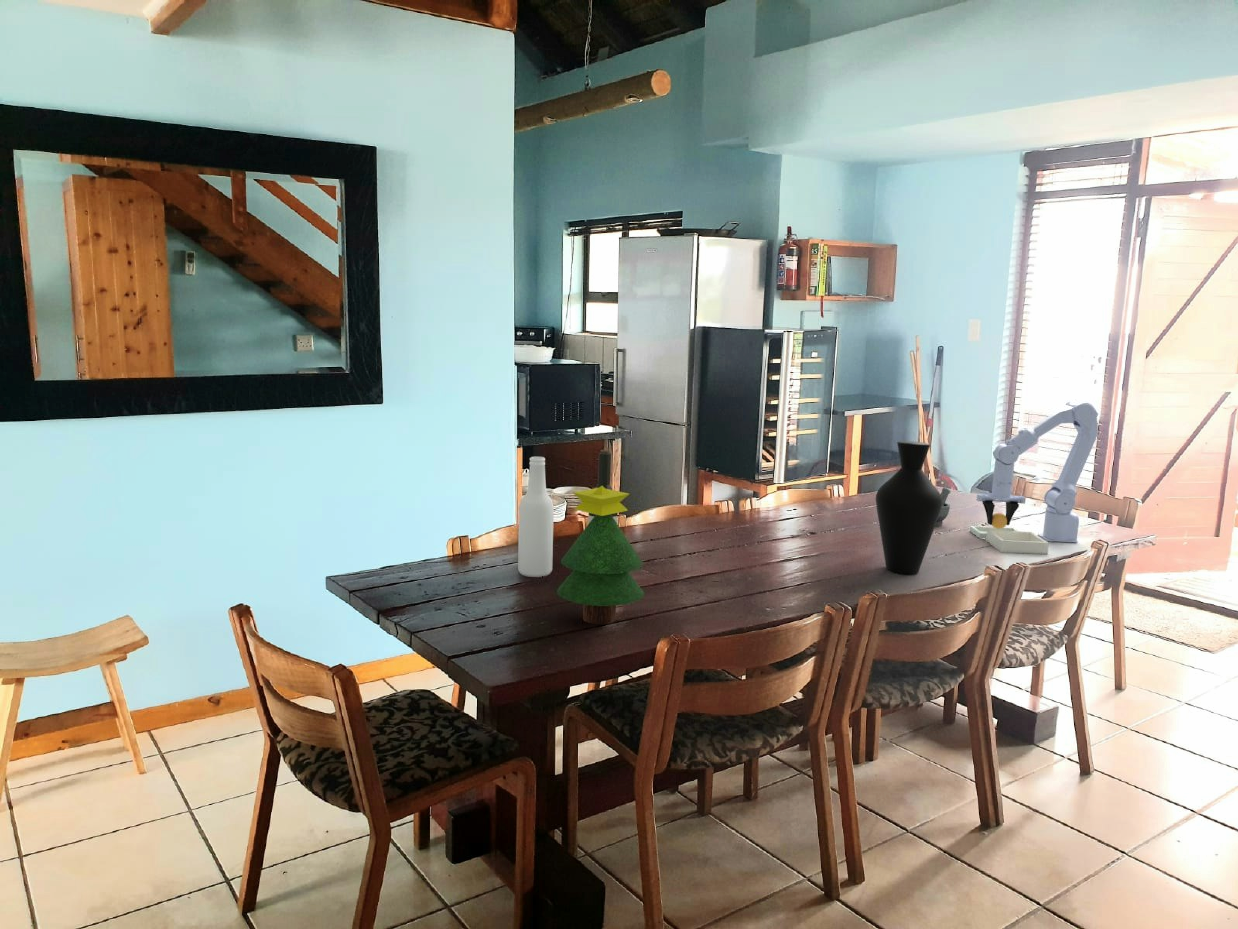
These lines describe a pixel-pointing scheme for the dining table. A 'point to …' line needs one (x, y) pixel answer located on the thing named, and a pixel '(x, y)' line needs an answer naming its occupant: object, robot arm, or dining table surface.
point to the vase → (907, 511)
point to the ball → (999, 520)
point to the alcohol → (536, 524)
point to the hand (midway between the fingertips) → (998, 524)
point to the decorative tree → (601, 560)
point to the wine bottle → (604, 477)
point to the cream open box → (1017, 542)
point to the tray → (982, 531)
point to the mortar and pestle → (943, 507)
